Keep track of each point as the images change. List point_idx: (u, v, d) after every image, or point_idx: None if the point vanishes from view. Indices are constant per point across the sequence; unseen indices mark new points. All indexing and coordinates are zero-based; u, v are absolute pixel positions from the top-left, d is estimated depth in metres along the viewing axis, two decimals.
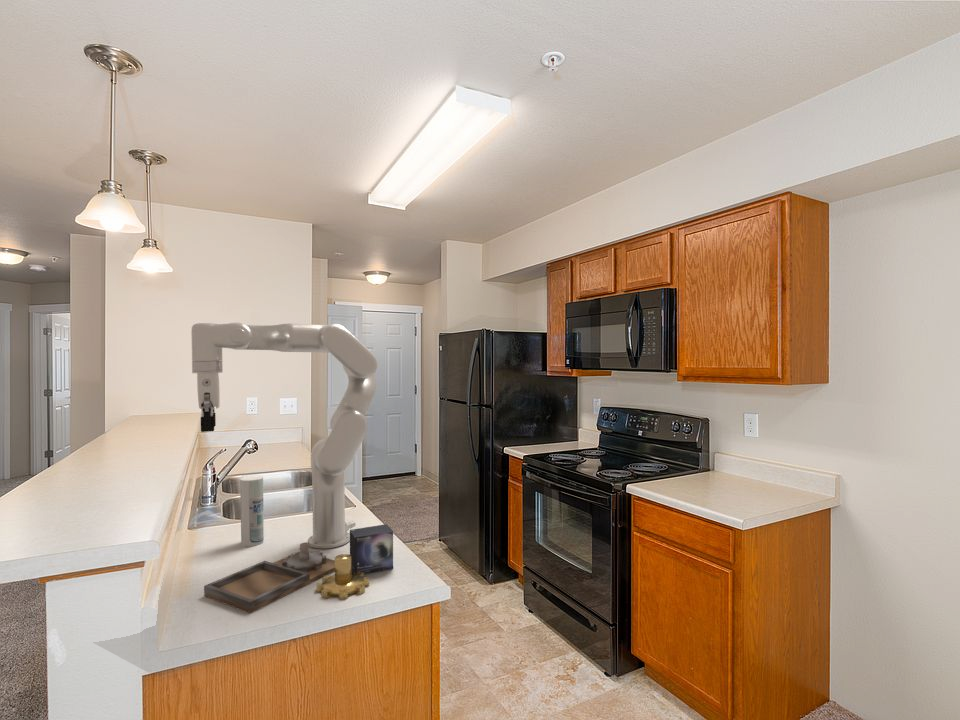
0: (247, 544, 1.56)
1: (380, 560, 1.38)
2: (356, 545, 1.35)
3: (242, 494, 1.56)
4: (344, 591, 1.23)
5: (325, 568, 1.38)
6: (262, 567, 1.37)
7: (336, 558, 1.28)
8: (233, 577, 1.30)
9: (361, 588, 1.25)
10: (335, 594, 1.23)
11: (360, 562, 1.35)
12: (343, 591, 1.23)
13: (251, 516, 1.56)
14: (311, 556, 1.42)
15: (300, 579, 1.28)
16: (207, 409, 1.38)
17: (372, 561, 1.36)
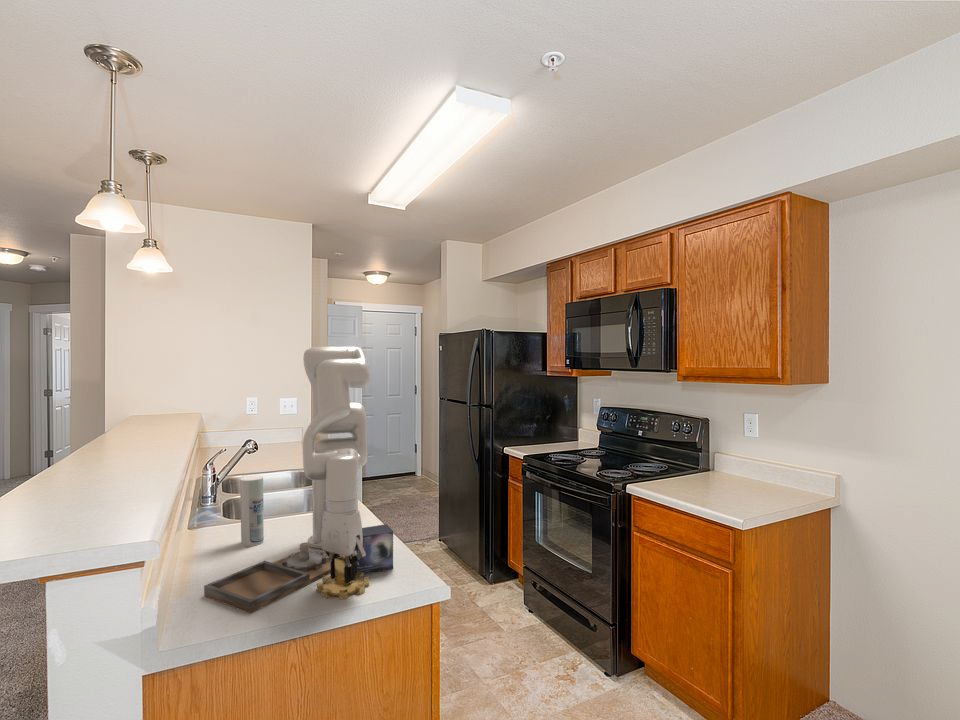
0: (247, 544, 1.56)
1: (381, 560, 1.38)
2: None
3: (242, 494, 1.56)
4: (344, 591, 1.23)
5: (325, 568, 1.38)
6: (262, 567, 1.37)
7: (336, 558, 1.28)
8: (233, 577, 1.30)
9: (361, 588, 1.25)
10: (335, 594, 1.23)
11: (360, 562, 1.35)
12: (343, 591, 1.23)
13: (251, 516, 1.56)
14: (311, 556, 1.42)
15: (300, 579, 1.28)
16: None
17: (372, 561, 1.36)
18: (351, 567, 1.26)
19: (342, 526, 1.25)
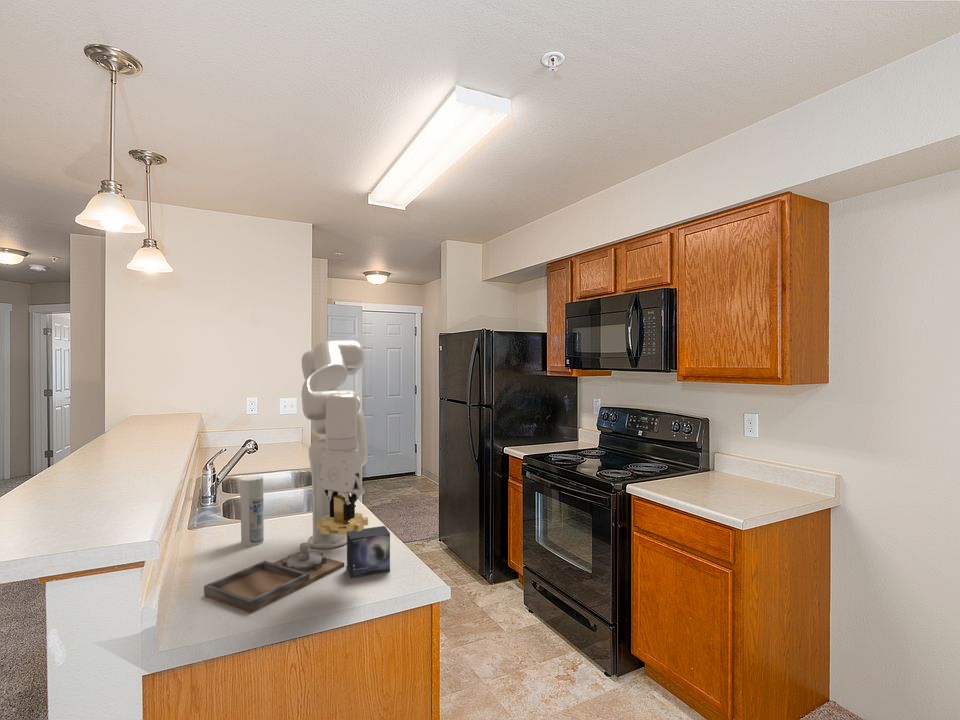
0: (247, 544, 1.56)
1: (377, 563, 1.36)
2: (352, 547, 1.34)
3: (242, 494, 1.56)
4: (343, 527, 1.23)
5: (325, 568, 1.38)
6: (262, 567, 1.37)
7: (335, 496, 1.28)
8: (233, 577, 1.30)
9: (360, 526, 1.25)
10: (333, 531, 1.24)
11: (356, 564, 1.34)
12: (342, 528, 1.23)
13: (251, 516, 1.56)
14: (311, 556, 1.42)
15: (300, 579, 1.28)
16: None
17: (368, 563, 1.35)
18: (350, 505, 1.26)
19: (341, 463, 1.24)
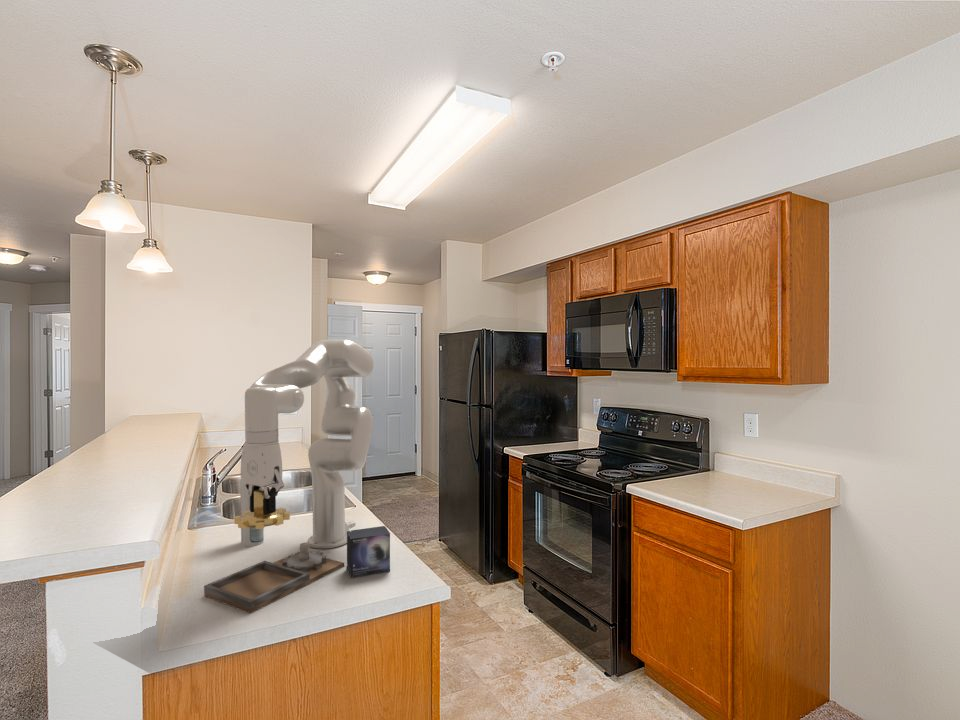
0: (247, 544, 1.56)
1: (377, 563, 1.36)
2: (352, 547, 1.34)
3: (242, 494, 1.56)
4: (260, 521, 1.22)
5: (325, 568, 1.38)
6: (262, 567, 1.37)
7: (255, 491, 1.26)
8: (233, 577, 1.30)
9: (279, 520, 1.24)
10: (251, 525, 1.22)
11: (356, 564, 1.34)
12: (259, 521, 1.22)
13: None
14: (311, 556, 1.42)
15: (300, 579, 1.28)
16: None
17: (368, 563, 1.35)
18: (270, 499, 1.25)
19: (260, 457, 1.23)
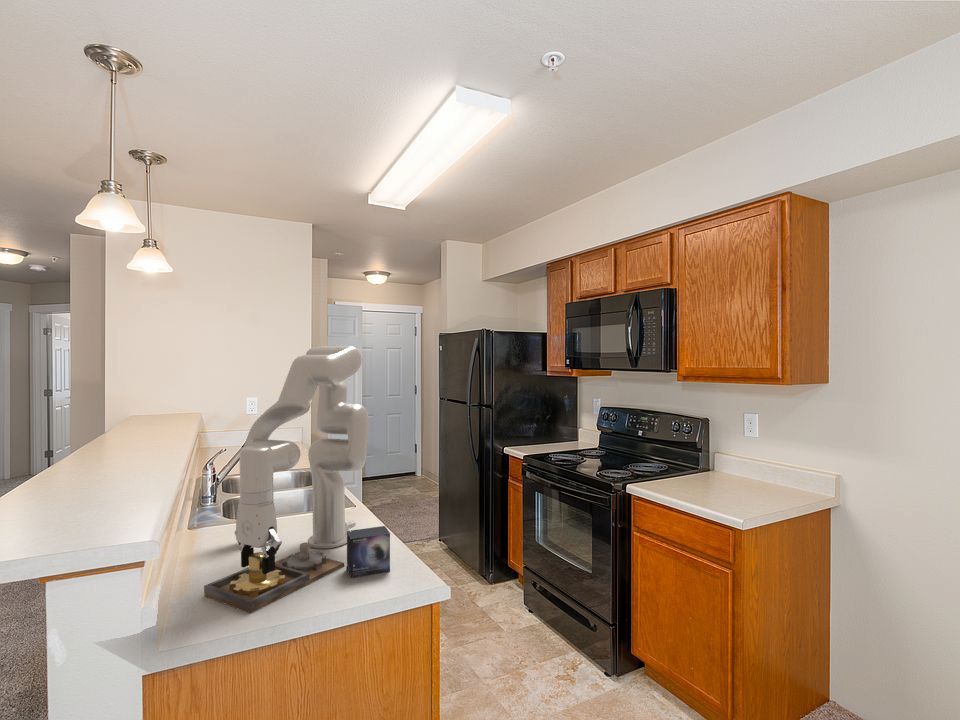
0: None
1: (377, 563, 1.36)
2: (352, 547, 1.34)
3: None
4: (255, 589, 1.22)
5: (325, 568, 1.38)
6: None
7: (250, 556, 1.27)
8: (233, 577, 1.30)
9: (274, 586, 1.24)
10: (246, 593, 1.23)
11: (356, 564, 1.34)
12: (254, 590, 1.22)
13: None
14: (311, 556, 1.42)
15: (300, 579, 1.28)
16: None
17: (368, 563, 1.35)
18: (269, 558, 1.25)
19: (254, 518, 1.24)
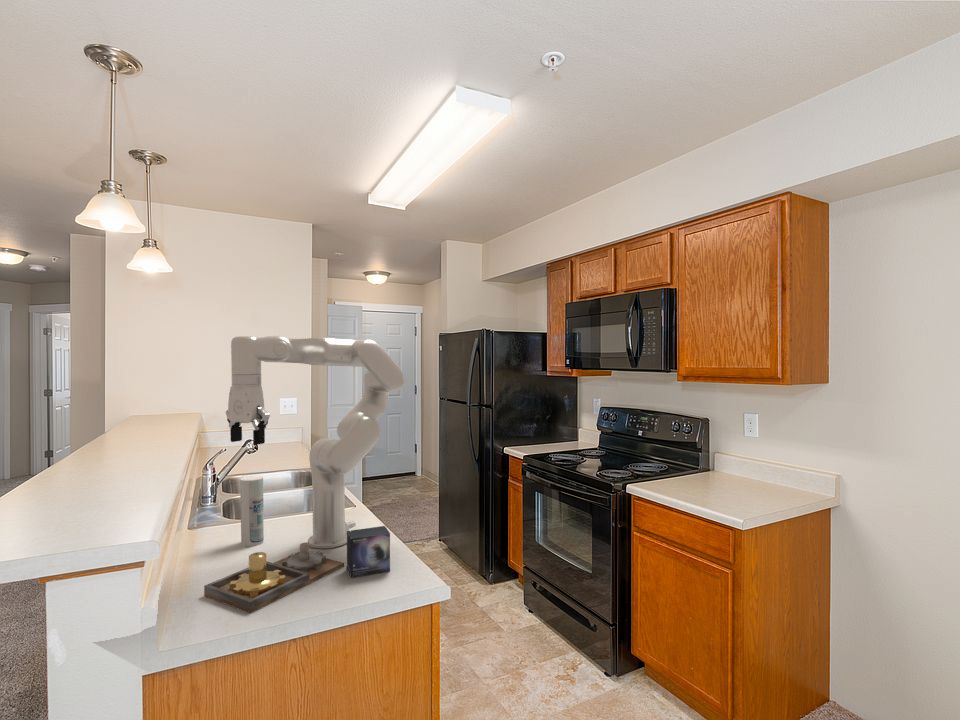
0: (247, 544, 1.56)
1: (377, 563, 1.36)
2: (352, 547, 1.34)
3: (242, 494, 1.56)
4: (255, 589, 1.22)
5: (325, 568, 1.38)
6: None
7: (250, 556, 1.27)
8: (233, 577, 1.30)
9: (274, 586, 1.24)
10: (246, 593, 1.23)
11: (356, 564, 1.34)
12: (254, 590, 1.22)
13: (251, 516, 1.56)
14: (311, 556, 1.42)
15: (300, 579, 1.28)
16: None
17: (368, 563, 1.35)
18: (259, 431, 1.41)
19: (244, 396, 1.40)
